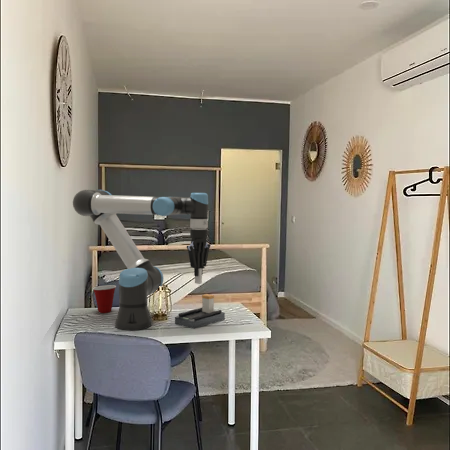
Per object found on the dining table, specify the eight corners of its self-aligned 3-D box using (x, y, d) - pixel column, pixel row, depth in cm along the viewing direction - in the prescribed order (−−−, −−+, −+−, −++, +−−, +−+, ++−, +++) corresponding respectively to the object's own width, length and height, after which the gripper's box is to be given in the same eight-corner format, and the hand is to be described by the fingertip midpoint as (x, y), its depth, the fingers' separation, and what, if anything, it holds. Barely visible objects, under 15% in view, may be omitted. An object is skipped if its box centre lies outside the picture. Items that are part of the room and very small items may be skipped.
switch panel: (193, 328, 204) (193, 318, 204) (174, 324, 211) (174, 313, 211) (224, 319, 219) (224, 309, 219) (206, 315, 226) (206, 305, 226)
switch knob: (209, 313, 216) (209, 296, 216) (202, 311, 219) (202, 295, 218) (213, 311, 219) (214, 295, 218) (206, 310, 221) (206, 294, 221)
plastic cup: (103, 308, 239) (102, 283, 238) (121, 310, 234) (120, 285, 234) (87, 312, 229) (87, 287, 229) (106, 315, 225) (105, 289, 224)
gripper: (195, 230, 204) (194, 286, 206) (215, 228, 215) (214, 282, 216) (182, 228, 209) (181, 284, 211) (202, 227, 219) (201, 280, 221)
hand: (198, 283), depth 213 cm, fingers closed
